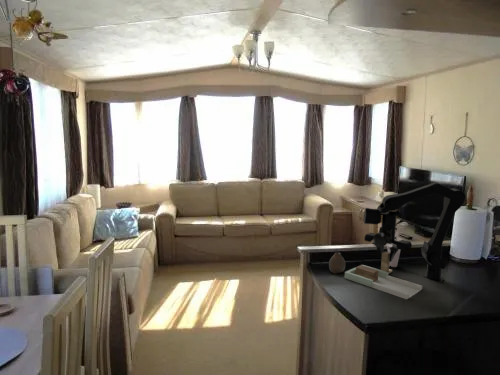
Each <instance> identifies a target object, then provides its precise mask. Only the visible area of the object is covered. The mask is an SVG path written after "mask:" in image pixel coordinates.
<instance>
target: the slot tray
mask: <svg viewBox="0 0 500 375" xmlns="http://www.w3.org/2000/svg"><path fill="white" fill-rule="evenodd" d="M362 265H363V266H366V267H369V268H372V269H375V270H379V271H378V280H376V281H375V282H373V280H371V279H368V278H365V277H362V276H359V275H356V267H353V268H351V269H348V270H346V271H344V279H346V280H349V281H353V282H354V283H355V282H356V283H358V284H361V285H362V286H363V285H364V286H367V287H369V288H372V289H375V290H378V291H381V292H385V293H387V294H390V295H393V296H396V297H398V298H402V299H404V300H408V299H410V298H412V297H413V296H415V295H416V294H417V293H419V292H420V291H422V290H423V285H421V284H418V283H414V282H412V281H409V280H405V279H401V278H398V277H395V276H393V275H392V276H391V275H389V274H390V273H389V272H385V271H382V270H381V269H378V268H375V267H371V266H368V265H366V264H365V265H364V264H362ZM388 273H389V274H388Z"/></svg>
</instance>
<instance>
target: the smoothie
mask: <svg viewBox="0 0 500 375" xmlns="http://www.w3.org/2000/svg"><path fill="white" fill-rule="evenodd" d="M395 237H396V239H395V241H398V240H397V239H398V236H395ZM390 247H392V244H388V243H387V244H386V248H387V252H389V253H390V251H391V250H390ZM400 254H401V250H400V249H399V250H398V251H397V252H396V254H395V256H394V258H393V259H392V261H391V262H390V263H389V267H390V266H391V268H397V267H398V263H399V259H400Z"/></svg>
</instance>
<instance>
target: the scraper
mask: <svg viewBox="0 0 500 375" xmlns="http://www.w3.org/2000/svg"><path fill="white" fill-rule="evenodd" d="M389 258H390V253H389V252H388V251H383V252H382V259H380V260H381V262H380V263H381V264H380V270H382V271H385V272H389V273H388V275H389V274H391V273H393V269H390V266H389V263H390V262H389Z"/></svg>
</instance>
